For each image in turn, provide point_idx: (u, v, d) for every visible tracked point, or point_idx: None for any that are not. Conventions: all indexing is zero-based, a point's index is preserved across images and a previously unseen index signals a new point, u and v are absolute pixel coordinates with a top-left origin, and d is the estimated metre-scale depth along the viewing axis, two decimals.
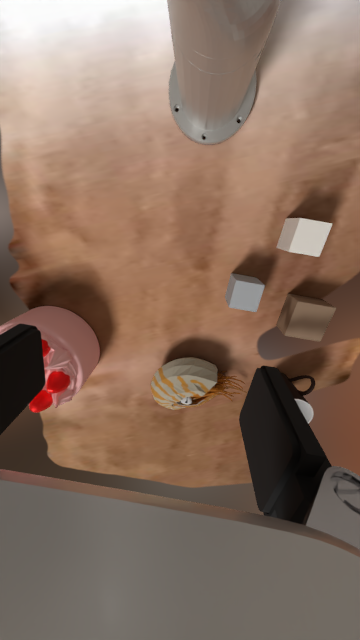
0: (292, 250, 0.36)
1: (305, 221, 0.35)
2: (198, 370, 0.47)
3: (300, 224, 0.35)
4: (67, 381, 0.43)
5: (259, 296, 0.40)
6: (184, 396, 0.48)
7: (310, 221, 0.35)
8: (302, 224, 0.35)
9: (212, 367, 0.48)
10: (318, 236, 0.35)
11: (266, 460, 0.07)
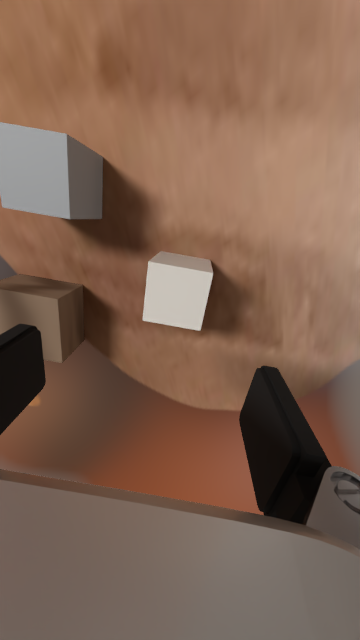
0: (151, 269, 0.17)
1: (206, 284, 0.18)
2: None
3: (201, 275, 0.17)
4: None
5: (41, 209, 0.16)
6: None
7: (205, 293, 0.18)
8: (201, 279, 0.17)
9: None
10: (178, 312, 0.19)
11: (266, 459, 0.07)
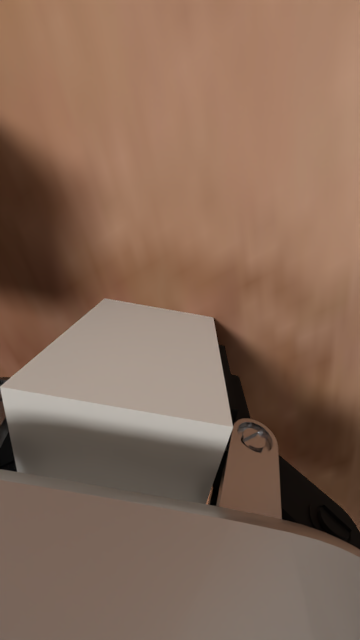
0: (15, 407, 0.05)
1: (206, 455, 0.05)
2: None
3: (191, 431, 0.05)
4: None
5: None
6: None
7: (205, 473, 0.06)
8: (191, 441, 0.05)
9: None
10: None
11: None
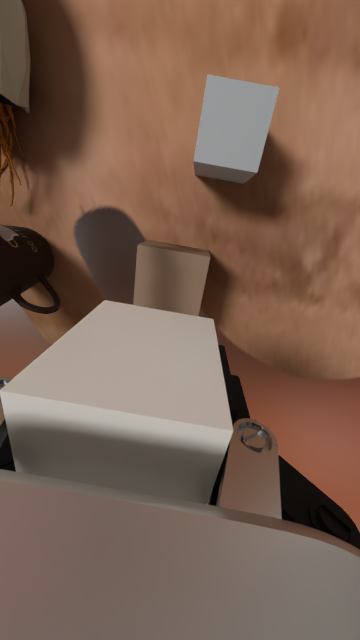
0: (15, 411, 0.05)
1: (207, 458, 0.05)
2: None
3: (191, 435, 0.05)
4: None
5: (231, 163, 0.17)
6: None
7: (205, 477, 0.05)
8: (192, 445, 0.05)
9: (15, 82, 0.18)
10: None
11: None
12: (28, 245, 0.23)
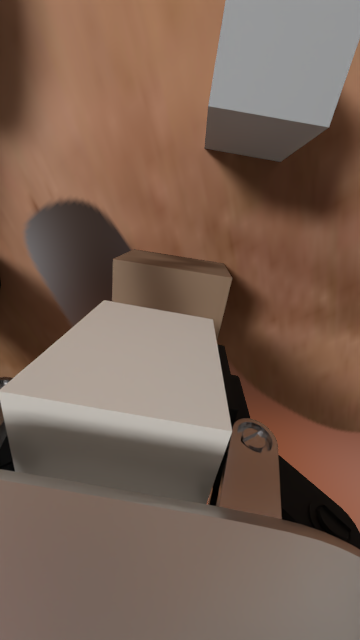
0: (13, 411, 0.05)
1: (206, 459, 0.05)
2: None
3: (190, 435, 0.05)
4: None
5: (281, 109, 0.09)
6: None
7: (204, 477, 0.05)
8: (190, 445, 0.05)
9: None
10: None
11: None
12: None
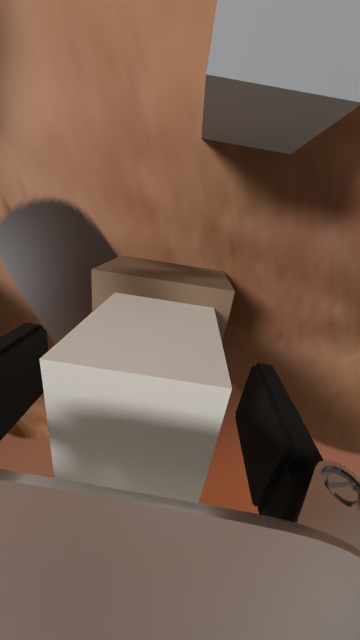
0: (51, 377, 0.06)
1: (210, 415, 0.06)
2: None
3: (197, 393, 0.06)
4: None
5: (301, 78, 0.07)
6: None
7: (210, 432, 0.07)
8: (197, 403, 0.06)
9: None
10: (141, 470, 0.07)
11: (260, 455, 0.07)
12: None
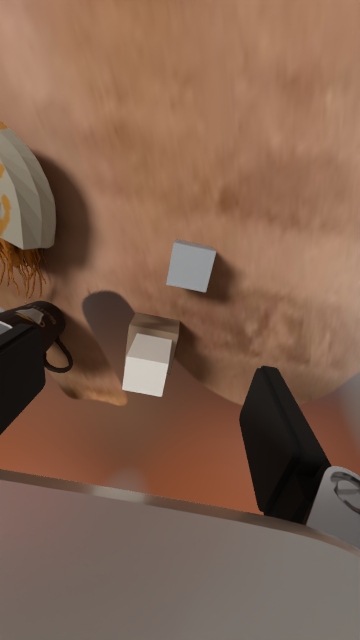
0: (128, 360, 0.27)
1: (164, 370, 0.27)
2: (32, 209, 0.25)
3: (161, 365, 0.27)
4: None
5: (190, 286, 0.28)
6: None
7: (164, 375, 0.27)
8: (161, 367, 0.27)
9: (48, 238, 0.28)
10: (146, 385, 0.28)
11: (266, 459, 0.07)
12: (50, 320, 0.33)
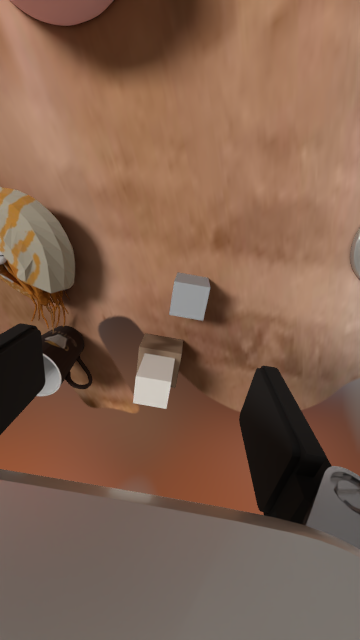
0: (137, 379, 0.32)
1: (167, 387, 0.32)
2: (57, 261, 0.31)
3: (165, 383, 0.32)
4: None
5: (189, 316, 0.33)
6: (2, 250, 0.30)
7: (167, 391, 0.32)
8: (165, 384, 0.32)
9: (69, 280, 0.34)
10: (153, 399, 0.33)
11: (266, 459, 0.07)
12: (72, 344, 0.39)
